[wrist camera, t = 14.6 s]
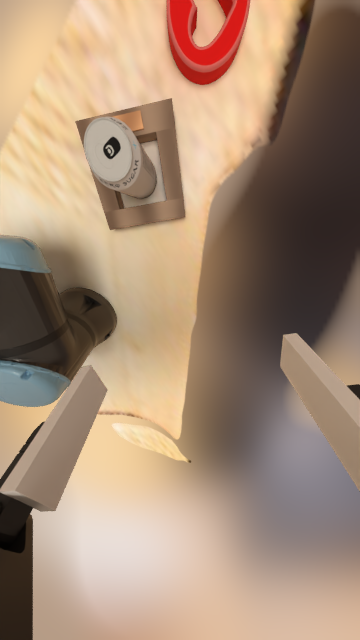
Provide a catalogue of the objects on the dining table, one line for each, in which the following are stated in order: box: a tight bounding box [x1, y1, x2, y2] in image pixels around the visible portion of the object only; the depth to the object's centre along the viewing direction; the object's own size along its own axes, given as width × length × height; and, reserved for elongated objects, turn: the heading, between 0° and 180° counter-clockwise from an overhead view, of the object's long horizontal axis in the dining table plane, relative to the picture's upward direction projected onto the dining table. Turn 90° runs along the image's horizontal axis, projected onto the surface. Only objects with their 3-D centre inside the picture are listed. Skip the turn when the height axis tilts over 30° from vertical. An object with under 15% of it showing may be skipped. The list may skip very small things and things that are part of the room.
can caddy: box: [75, 98, 185, 230], centre depth 29 cm, size 14×14×3 cm
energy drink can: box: [84, 117, 156, 198], centre depth 24 cm, size 6×6×15 cm
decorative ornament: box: [167, 0, 250, 85], centre depth 21 cm, size 10×10×3 cm
